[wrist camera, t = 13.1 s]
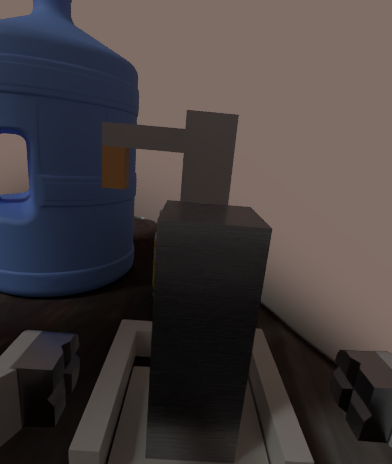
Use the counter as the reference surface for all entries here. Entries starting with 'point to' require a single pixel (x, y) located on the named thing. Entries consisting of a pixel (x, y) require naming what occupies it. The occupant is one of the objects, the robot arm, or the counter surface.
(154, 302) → the link block
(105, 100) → the water jug
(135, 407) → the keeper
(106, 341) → the counter surface
